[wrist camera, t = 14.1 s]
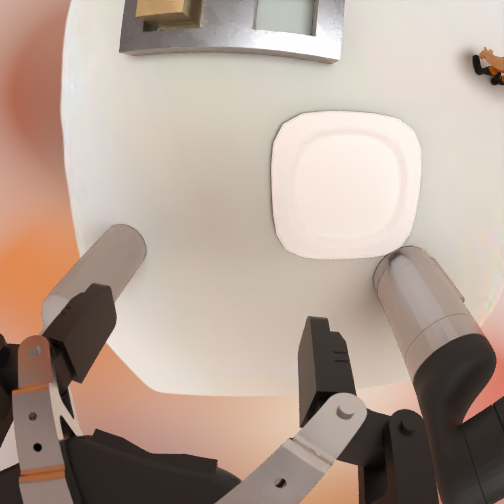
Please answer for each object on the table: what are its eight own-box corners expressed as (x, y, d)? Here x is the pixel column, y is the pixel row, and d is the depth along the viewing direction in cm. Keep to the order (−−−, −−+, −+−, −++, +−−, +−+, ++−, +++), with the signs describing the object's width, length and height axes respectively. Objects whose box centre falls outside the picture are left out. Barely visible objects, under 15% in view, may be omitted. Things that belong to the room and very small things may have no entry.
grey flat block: (337, -12, 22) (345, -24, 19) (331, 63, 27) (339, 59, 24) (143, -17, 22) (130, -27, 19) (134, 55, 27) (119, 52, 24)
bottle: (98, 227, 38) (-34, 378, 14) (138, 220, 37) (3, 394, 13) (113, 268, 41) (11, 426, 17) (152, 264, 41) (55, 445, 16)
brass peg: (206, -4, 24) (188, -29, 17) (202, 29, 26) (182, 11, 19) (168, -2, 24) (141, -23, 17) (163, 31, 26) (135, 16, 19)
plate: (274, 255, 39) (274, 261, 38) (267, 110, 31) (267, 110, 29) (404, 251, 38) (409, 257, 36) (419, 117, 29) (425, 118, 28)
